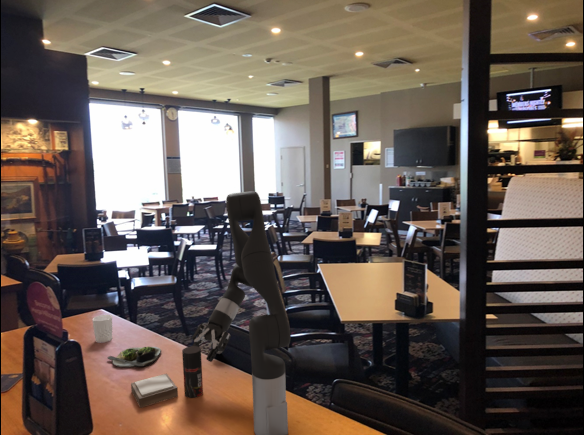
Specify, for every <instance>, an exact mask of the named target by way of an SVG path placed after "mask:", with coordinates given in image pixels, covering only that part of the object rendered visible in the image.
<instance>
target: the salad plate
mask: <svg viewBox="0 0 584 435" xmlns="http://www.w3.org/2000/svg"><path fill="white" fill-rule="evenodd" d="M161 354H162V349H161V348H160V347H157V346H143V347H139V346H138V347H137V346H136V347H130V348H129V347H128V348H126V349H123V350H121V351H120V352H119V353H118V354H117V356H111V355H109V356H108V357H107V360H110V361H112V364H113V366H116V367H120V368H143V367H147V366H150V365H153V364H154V363H155V362H156V361H157V360H158V359H159V358H160V356H161Z"/></svg>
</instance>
